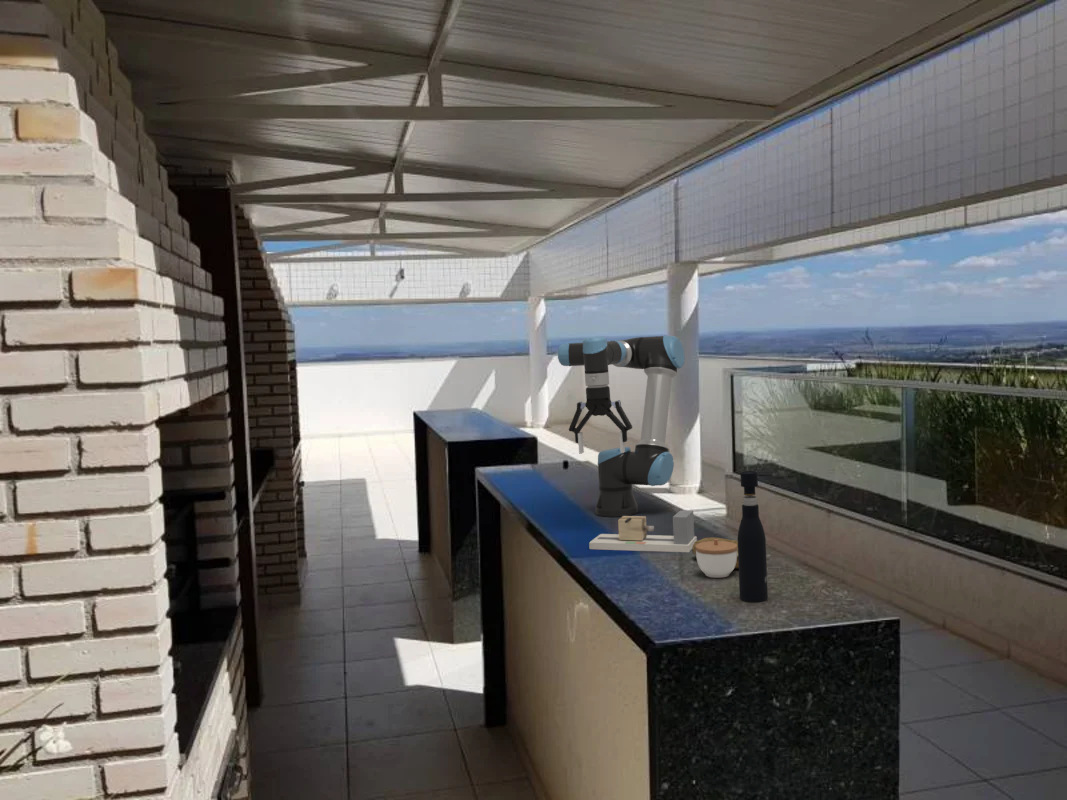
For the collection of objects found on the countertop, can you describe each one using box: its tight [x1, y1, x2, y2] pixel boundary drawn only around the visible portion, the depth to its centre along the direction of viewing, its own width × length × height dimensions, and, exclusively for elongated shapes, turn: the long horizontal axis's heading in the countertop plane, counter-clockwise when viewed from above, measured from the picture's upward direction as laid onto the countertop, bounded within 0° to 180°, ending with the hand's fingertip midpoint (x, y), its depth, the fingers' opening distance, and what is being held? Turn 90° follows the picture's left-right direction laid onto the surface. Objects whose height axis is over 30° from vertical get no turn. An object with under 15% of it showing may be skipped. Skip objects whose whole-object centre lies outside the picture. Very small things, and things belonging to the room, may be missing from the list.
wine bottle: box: [736, 470, 769, 603], centre depth 218 cm, size 6×6×30 cm
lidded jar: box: [695, 539, 737, 579], centre depth 241 cm, size 11×11×9 cm
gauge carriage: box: [617, 515, 655, 540], centre depth 277 cm, size 10×10×7 cm
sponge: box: [691, 537, 739, 569], centre depth 253 cm, size 13×8×20 cm
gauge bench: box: [588, 510, 698, 553], centre depth 278 cm, size 12×30×10 cm, turn 69°
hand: (602, 452), depth 295 cm, fingers open, 13 cm apart
